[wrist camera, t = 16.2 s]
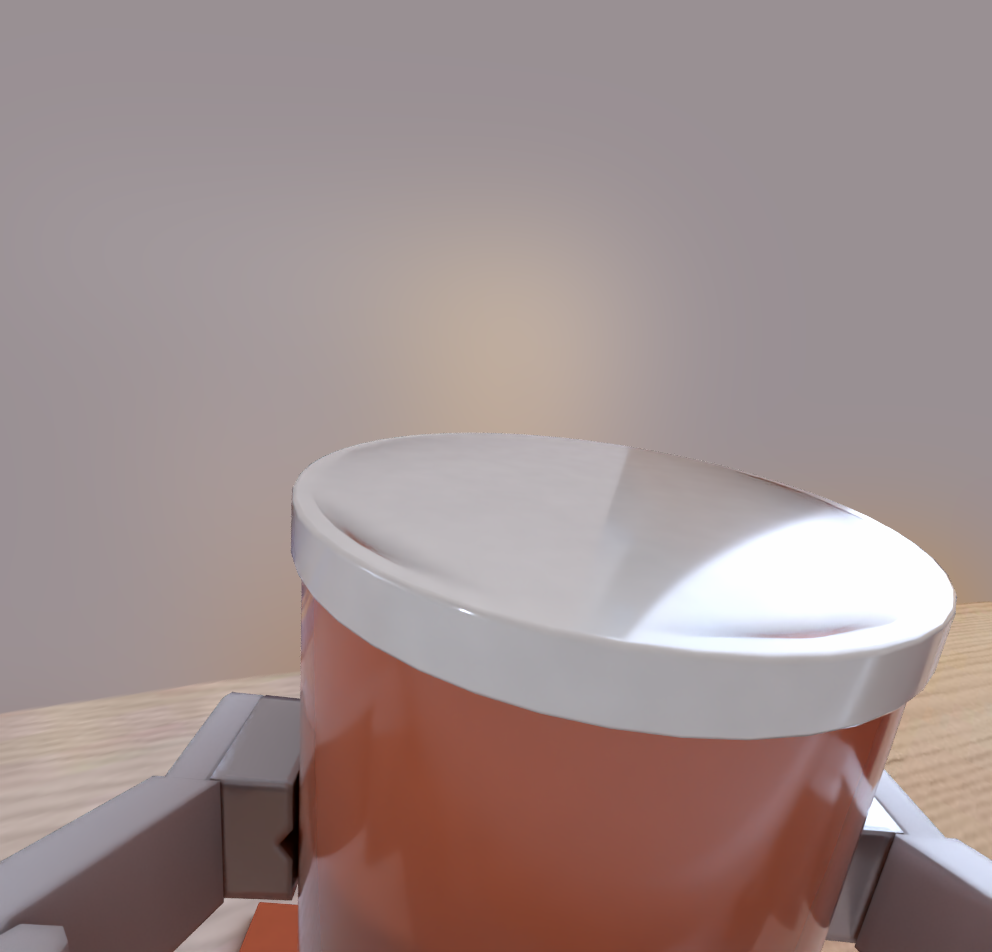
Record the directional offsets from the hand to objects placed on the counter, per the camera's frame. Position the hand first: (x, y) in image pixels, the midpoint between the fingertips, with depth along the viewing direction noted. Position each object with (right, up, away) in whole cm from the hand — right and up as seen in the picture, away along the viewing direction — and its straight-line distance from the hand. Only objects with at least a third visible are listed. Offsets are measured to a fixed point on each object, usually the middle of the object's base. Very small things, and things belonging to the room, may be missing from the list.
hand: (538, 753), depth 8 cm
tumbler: (0, -6, +1) cm, 6 cm away
